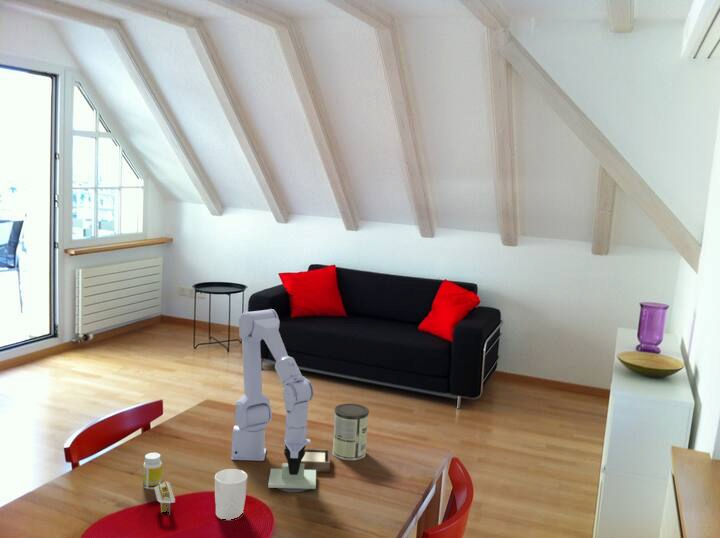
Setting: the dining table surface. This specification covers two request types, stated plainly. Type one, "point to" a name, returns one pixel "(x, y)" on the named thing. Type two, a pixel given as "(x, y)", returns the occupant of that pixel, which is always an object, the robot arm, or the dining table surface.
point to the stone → (292, 490)
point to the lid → (292, 478)
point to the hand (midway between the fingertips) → (293, 471)
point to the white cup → (230, 493)
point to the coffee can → (350, 431)
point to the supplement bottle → (152, 470)
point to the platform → (164, 495)
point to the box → (317, 460)
